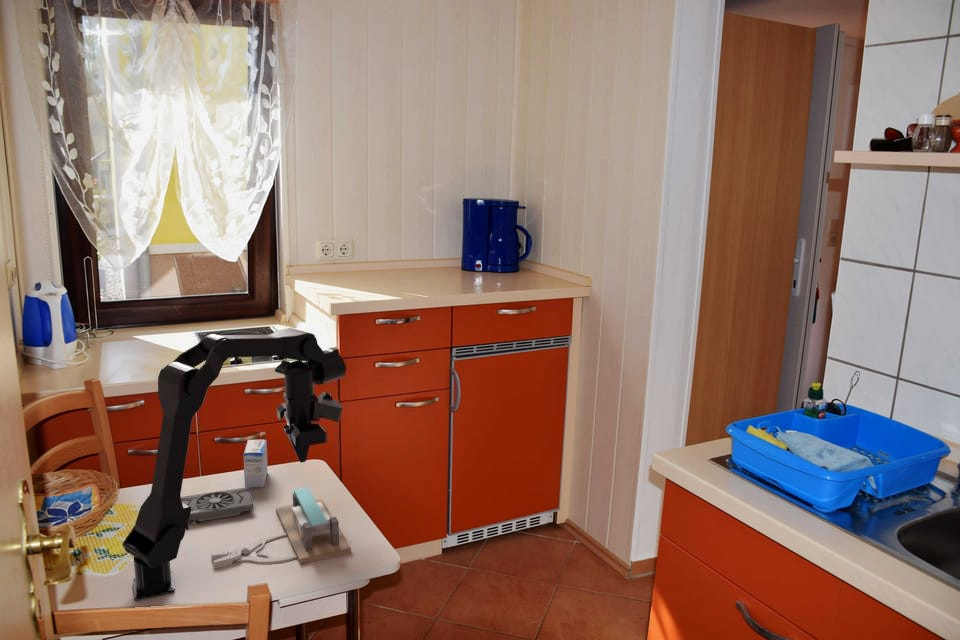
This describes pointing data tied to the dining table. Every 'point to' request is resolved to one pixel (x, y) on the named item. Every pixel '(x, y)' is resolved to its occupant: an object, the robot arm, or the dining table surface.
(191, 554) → the dining table surface
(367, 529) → the dining table surface
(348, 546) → the board
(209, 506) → the graphics card
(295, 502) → the block
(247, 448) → the medicine box
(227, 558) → the pliers
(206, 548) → the dining table surface
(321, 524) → the lever
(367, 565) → the dining table surface
